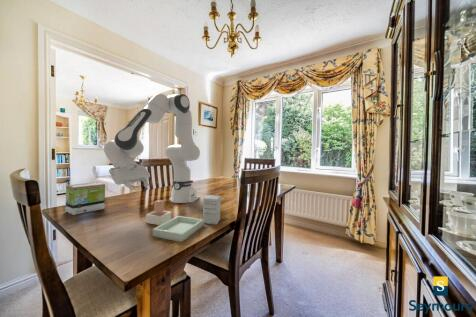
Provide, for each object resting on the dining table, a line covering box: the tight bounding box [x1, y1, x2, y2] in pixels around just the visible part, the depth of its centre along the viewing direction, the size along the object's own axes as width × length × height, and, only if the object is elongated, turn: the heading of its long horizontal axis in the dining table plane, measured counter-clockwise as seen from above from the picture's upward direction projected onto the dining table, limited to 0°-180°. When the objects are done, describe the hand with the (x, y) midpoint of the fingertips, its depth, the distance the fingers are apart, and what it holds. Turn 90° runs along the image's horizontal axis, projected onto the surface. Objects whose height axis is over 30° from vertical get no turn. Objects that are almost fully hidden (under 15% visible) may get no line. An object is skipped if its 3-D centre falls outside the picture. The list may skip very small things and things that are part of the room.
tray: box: [152, 215, 205, 243], centre depth 88 cm, size 18×14×3 cm
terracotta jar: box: [153, 199, 165, 216], centre depth 99 cm, size 4×4×10 cm
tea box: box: [64, 182, 106, 216], centre depth 111 cm, size 15×10×15 cm, turn 151°
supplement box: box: [202, 194, 222, 225], centre depth 101 cm, size 7×7×13 cm
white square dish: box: [145, 210, 172, 226], centre depth 99 cm, size 8×8×4 cm
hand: (140, 187), depth 102 cm, fingers open, 8 cm apart
